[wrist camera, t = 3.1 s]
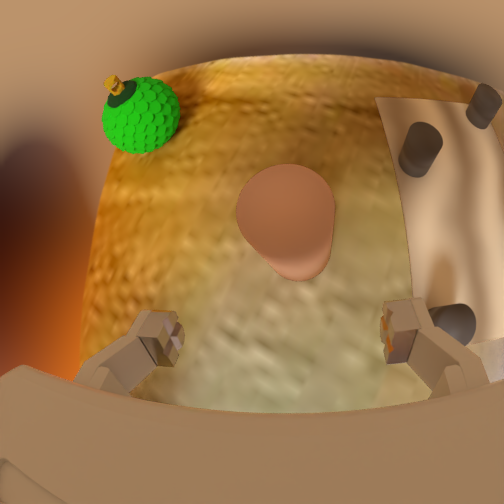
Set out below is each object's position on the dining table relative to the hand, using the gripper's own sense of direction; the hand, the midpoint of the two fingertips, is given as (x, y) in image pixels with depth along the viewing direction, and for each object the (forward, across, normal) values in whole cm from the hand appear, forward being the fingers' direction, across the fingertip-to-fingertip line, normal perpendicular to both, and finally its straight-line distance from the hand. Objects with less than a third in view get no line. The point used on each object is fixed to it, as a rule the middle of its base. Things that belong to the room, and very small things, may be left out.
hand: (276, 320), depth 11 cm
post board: (+14, -16, +2) cm, 22 cm away
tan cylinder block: (+12, 0, +4) cm, 13 cm away
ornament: (+22, +14, -6) cm, 27 cm away
